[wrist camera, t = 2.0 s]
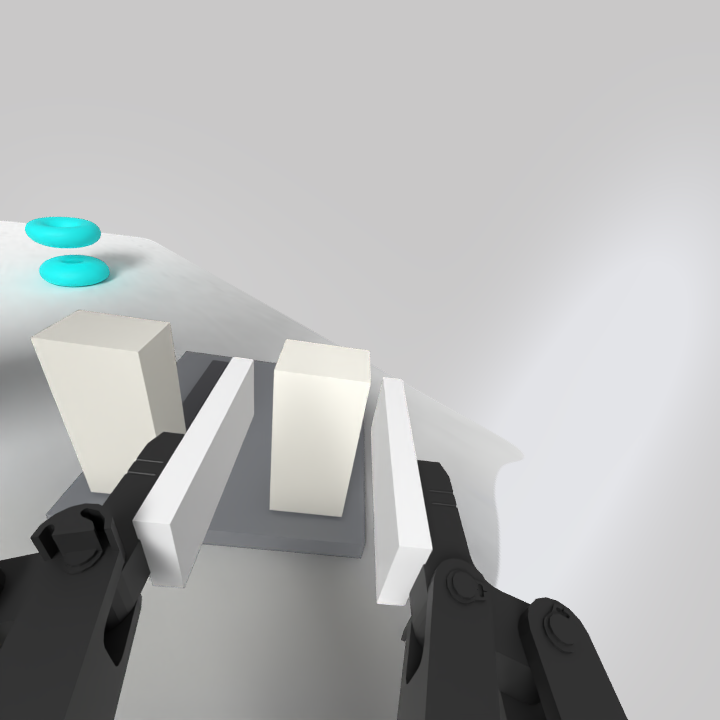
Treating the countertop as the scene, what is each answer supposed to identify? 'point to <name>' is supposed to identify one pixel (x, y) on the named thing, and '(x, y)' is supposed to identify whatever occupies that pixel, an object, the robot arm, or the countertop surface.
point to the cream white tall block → (316, 425)
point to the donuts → (68, 236)
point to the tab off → (111, 388)
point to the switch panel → (255, 478)
